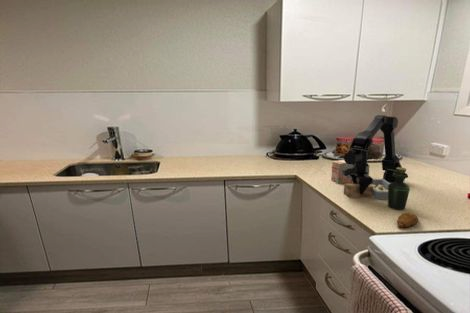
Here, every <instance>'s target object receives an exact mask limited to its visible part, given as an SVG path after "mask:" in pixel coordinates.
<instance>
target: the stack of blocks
mask: <svg viewBox="0 0 470 313" xmlns="http://www.w3.org/2000/svg"><path fill="white" fill-rule="evenodd" d="M331 164H332V166H331V182H333V183H335V184H337V185H339V184H340V185H341V184H350V183H353V181H352V177H351V176H350V175H348V176H344V175H343V173H342V170H341V168H343V167H346V166H350V165H352V164H347V163H346V162H345V161H344V159H341V160H340V159H339V160H333V161H332V163H331ZM366 172H368V174H365V175H369V176H370V164H368V166H367V169H366Z"/></svg>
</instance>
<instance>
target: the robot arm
mask: <svg viewBox="0 0 470 313" xmlns="http://www.w3.org/2000/svg"><path fill="white" fill-rule="evenodd" d="M398 124H399V119H398V118H397V117H396V116H389V115H383V114H382V115H381V114H377V115H375V116H374V118H373V120H372V121H371V122H370V124H369V125H367V127H366V128H365V129H364V130H363V131H361V132H359V133H357V135H355V136H354V138H353V140H352V141H351V144H350V146H349V149H348V152H346V153H345V154H344V156H343V160H344V161H345V162H346V163H347V164H352V165H350V166H346V167H343V168H341V170H342V173H343V175H344V176H348V175H350V176H351V177H352V181H353V182H352V184H359V190H360V194H363V193H364V191H365V190H366V189H367V187H368V186H369V185H370V184H371V183H373V179H374V178H372V177H371V175H370V174H369V175H365V174H368V172H366V169H367V166H368V165H369V163H368V156H369V152H370V151H371V149H370V148H371V146H372V145H373V141H374V137H375V135H376V134H377V133H378V132H379V130H380V131H381V132H382V133H383V143H384V154H385V155H384V158H382V159H381V166H382V167H381V168H382V169H381V170H382V171H384V172H383V175H382V176H383V177H382V179H384V180H386V181H387V182H389V183H392V182H396V180H395V177H394V176H393V173H394V172H396V168H397V167H401V168H403V167H402V164H401V162H400V158H399V157H398V155H396V143H395V141H396V140H395V130H396V129H397V127H398Z"/></svg>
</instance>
